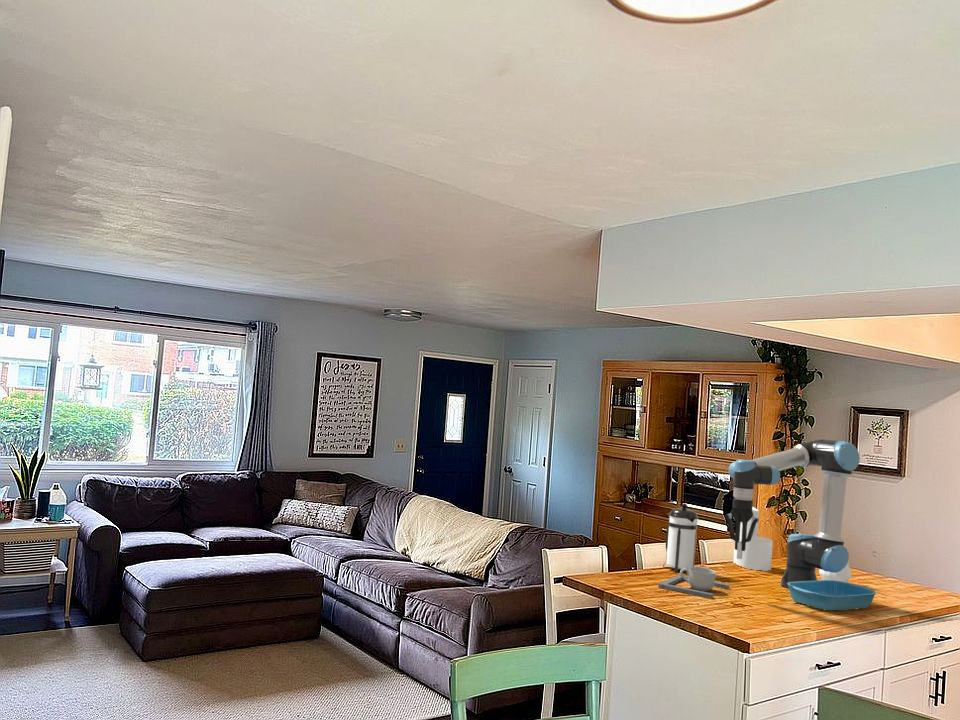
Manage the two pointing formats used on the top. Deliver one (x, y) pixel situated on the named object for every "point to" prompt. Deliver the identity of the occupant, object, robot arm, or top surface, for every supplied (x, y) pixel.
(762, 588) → the top surface
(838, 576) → the cup
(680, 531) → the coffee press
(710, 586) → the teacup
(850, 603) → the casserole dish
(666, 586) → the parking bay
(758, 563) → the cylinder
